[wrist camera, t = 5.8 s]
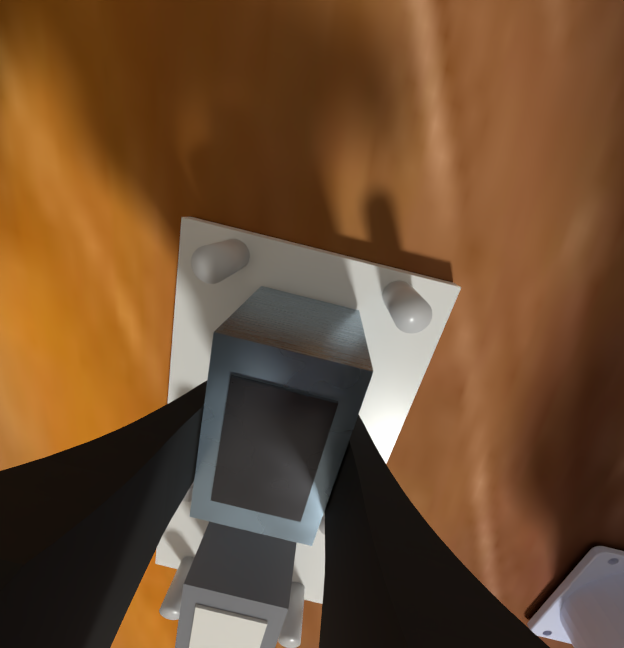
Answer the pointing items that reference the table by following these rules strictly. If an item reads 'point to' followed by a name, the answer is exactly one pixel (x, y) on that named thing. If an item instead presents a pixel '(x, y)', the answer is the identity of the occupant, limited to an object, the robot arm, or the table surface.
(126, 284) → the table surface
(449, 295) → the grey fixture plate
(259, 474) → the block
